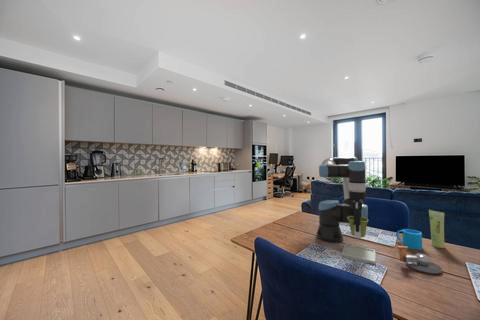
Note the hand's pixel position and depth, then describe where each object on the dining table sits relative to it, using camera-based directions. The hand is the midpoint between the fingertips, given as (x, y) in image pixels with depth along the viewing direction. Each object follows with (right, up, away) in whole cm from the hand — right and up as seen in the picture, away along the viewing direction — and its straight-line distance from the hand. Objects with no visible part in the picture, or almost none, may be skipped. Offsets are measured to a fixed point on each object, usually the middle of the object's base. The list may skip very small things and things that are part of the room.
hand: (358, 234), depth 99 cm
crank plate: (+22, -10, -12) cm, 27 cm away
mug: (+35, -10, +10) cm, 37 cm away
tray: (0, -10, 0) cm, 10 cm away
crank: (+18, -8, -12) cm, 23 cm away
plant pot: (0, 0, 0) cm, 0 cm away
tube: (+49, -9, +8) cm, 50 cm away
